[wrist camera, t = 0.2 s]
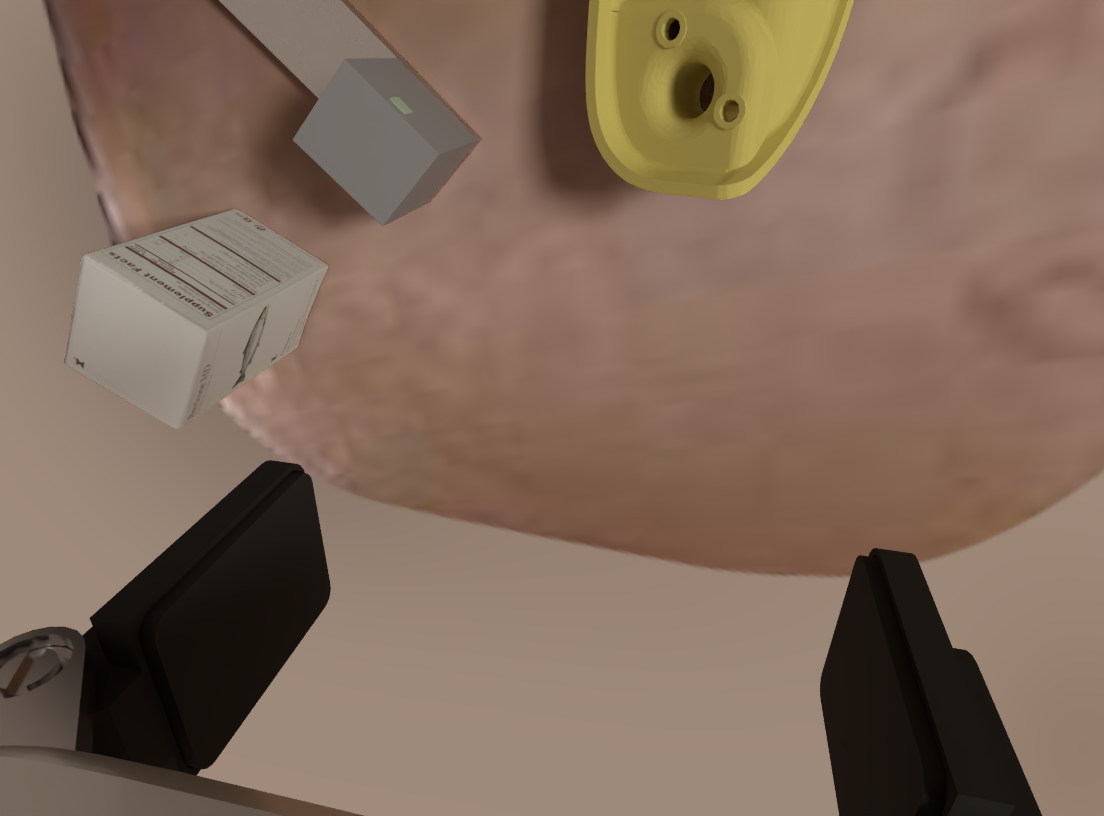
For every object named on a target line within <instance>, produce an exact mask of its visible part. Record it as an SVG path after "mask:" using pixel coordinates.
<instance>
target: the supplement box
mask: <svg viewBox="0 0 1104 816" xmlns="http://www.w3.org/2000/svg"><path fill="white" fill-rule="evenodd" d="M327 269H328V265H326V264H325V263H324V262H322V261H320V260H319V259H317V258H316V257H314V256H313V255H311V254H309V253H308V252H306V251H304V250H303V249H302V248H300V247H298V246H297V245H295V244H293V243H292V242H290V241H289V240H287V239H285V238H284V237H282V236H280V235H279V234H277V233H276V232H274V231H272V230H271V229H269V228H268V227H266V226H264V225H263V224H261V223H259V222H258V221H256V220H255V219H253V218H251V217H250V216H248V215H246V214H245V213H243V212H241V211H240V210H238V209H231V210H228V211H225V212H222V213H218V214H215V215H212V216H208V217H205V218H202V219H198V220H195V221H192V222H189V223H185V224H182V225H179V226H176V227H172V228H169V229H166V230H163V231H159V232H156V233H153V234H150V235H146V236H143V237H140V238H137V239H133V240H130V241H127V242H124V243H120V244H117V245H114V246H110V247H108V248H104V249H101V250H97V251H94V252H90V253H86V254H84V255H83V256H82V259H81V264H80V270H79V278H78V284H77V289H76V295H75V302H74V307H73V311H72V318H71V326H70V332H69V338H68V344H67V350H66V356H65V360H64V363H65V364H66V365H67V366H69V367H70V368H72V369H73V370H75V371H77V372H78V373H80V374H81V375H83V376H85V377H86V378H88V379H90V380H91V381H93V382H95V383H96V384H98V385H100V386H102V387H103V388H105V389H107V390H109V391H110V392H112V393H114V394H116V395H117V396H119V397H121V398H122V399H124V400H126V401H127V402H129V403H131V404H133V405H134V406H136V407H138V408H139V409H141V410H143V411H145V412H146V413H148V414H150V415H152V416H153V417H155V418H157V419H158V420H160V421H162V422H163V423H165V424H167V425H169V426H171V427H173V428H175V429H180V428H181V427H183V426H184V425H185V424H187V423H188V422H190V421H191V420H193V419H194V418H195V417H197V416H198V415H200V414H201V413H203V412H204V411H205V410H207V409H208V408H210V407H211V406H213V405H214V404H216V403H217V402H219V401H220V400H222V399H223V398H224V397H226V396H227V395H229V394H230V393H232V392H233V391H235V390H236V389H238V388H239V387H241V386H242V385H244V384H245V383H246V382H248V381H249V380H251V379H252V378H254V377H255V376H257V375H258V374H260V373H261V372H262V371H264V370H265V369H267V368H268V367H270V366H271V365H273V364H274V363H276V362H277V361H279V360H280V359H281V358H283V357H284V356H286V355H287V354H289V353H290V352H291V351H293V350H294V349H296V348H297V347H298V344H299V341H300V337H301V334H302V331H303V328H304V326H305V323H306V320H307V317H308V315H309V312H310V310H311V307H312V304H313V302H314V300H315V297H316V295H317V292H318V290H319V287H320V285H321V282H322V280H323V278H324V276H325V273H326V271H327Z"/></svg>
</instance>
